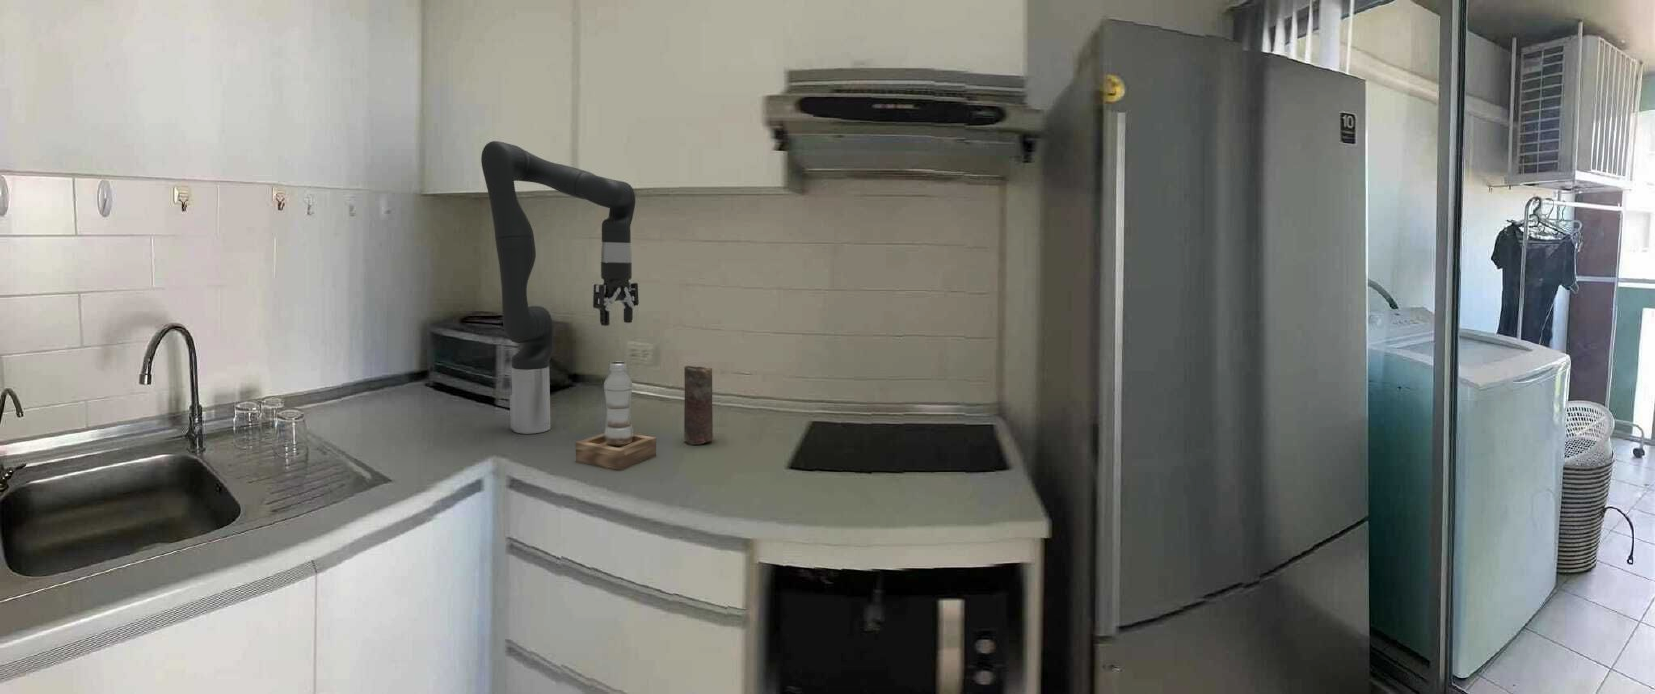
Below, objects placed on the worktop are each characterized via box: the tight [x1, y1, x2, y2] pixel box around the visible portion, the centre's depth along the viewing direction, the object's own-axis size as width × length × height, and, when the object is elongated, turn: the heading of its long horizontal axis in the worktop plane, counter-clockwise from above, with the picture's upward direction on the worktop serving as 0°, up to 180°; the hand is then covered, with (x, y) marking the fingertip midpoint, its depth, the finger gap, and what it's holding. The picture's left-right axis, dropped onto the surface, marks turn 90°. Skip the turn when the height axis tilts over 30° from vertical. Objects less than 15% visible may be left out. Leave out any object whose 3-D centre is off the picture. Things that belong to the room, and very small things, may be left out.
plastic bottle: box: [603, 361, 634, 446], centre depth 166 cm, size 6×7×20 cm
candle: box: [683, 365, 714, 446], centre depth 182 cm, size 8×7×20 cm
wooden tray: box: [575, 433, 657, 471], centre depth 166 cm, size 13×13×4 cm
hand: (616, 324), depth 180 cm, fingers open, 8 cm apart
